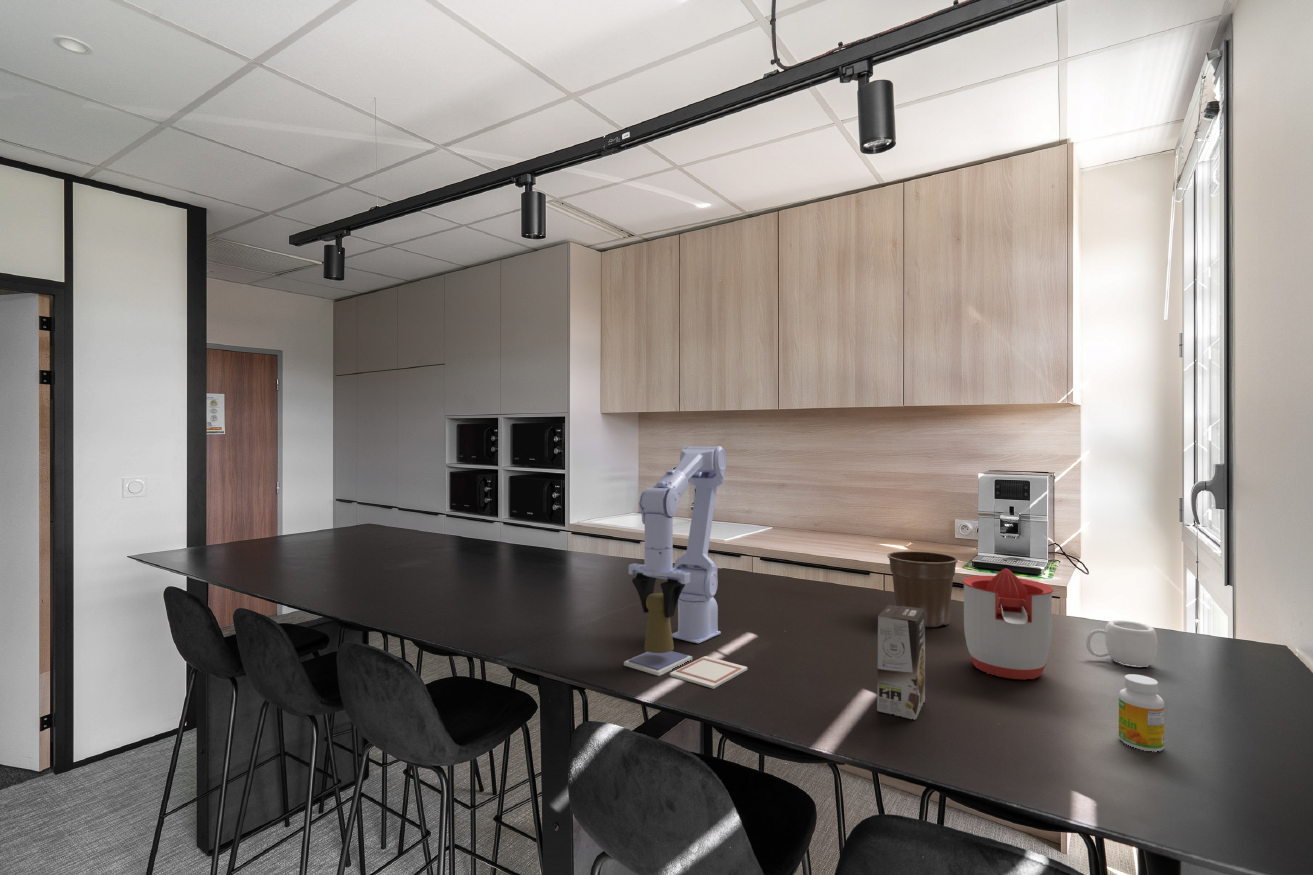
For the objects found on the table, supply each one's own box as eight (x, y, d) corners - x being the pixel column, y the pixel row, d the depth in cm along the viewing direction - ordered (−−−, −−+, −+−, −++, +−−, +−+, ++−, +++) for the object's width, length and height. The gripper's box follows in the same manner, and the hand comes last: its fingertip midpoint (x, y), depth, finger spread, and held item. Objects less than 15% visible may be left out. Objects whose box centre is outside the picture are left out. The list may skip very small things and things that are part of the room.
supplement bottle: (1109, 736, 96) (1109, 672, 96) (1142, 734, 96) (1142, 671, 96) (1139, 753, 90) (1139, 686, 90) (1173, 752, 91) (1174, 685, 91)
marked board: (705, 658, 129) (705, 655, 129) (747, 669, 123) (747, 666, 123) (669, 675, 120) (669, 672, 120) (713, 688, 114) (713, 685, 114)
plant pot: (881, 610, 165) (881, 549, 165) (945, 612, 163) (945, 551, 163) (895, 629, 149) (896, 561, 149) (967, 632, 147) (967, 563, 147)
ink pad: (658, 650, 134) (658, 645, 134) (692, 659, 128) (692, 655, 128) (623, 665, 125) (623, 660, 125) (658, 675, 120) (658, 670, 120)
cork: (671, 653, 123) (670, 597, 123) (641, 652, 124) (640, 596, 124) (676, 644, 129) (675, 591, 129) (647, 643, 130) (647, 590, 130)
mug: (1146, 659, 129) (1146, 621, 129) (1165, 673, 121) (1165, 633, 121) (1079, 652, 133) (1079, 615, 133) (1093, 666, 125) (1093, 627, 125)
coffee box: (917, 721, 101) (917, 621, 101) (875, 711, 104) (876, 615, 104) (926, 700, 108) (926, 607, 108) (887, 692, 112) (887, 602, 112)
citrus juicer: (968, 682, 117) (968, 575, 117) (958, 652, 133) (958, 558, 133) (1065, 694, 111) (1065, 582, 111) (1042, 661, 127) (1042, 563, 127)
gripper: (618, 545, 128) (618, 611, 128) (675, 554, 119) (675, 625, 119) (641, 541, 134) (640, 604, 134) (696, 548, 125) (696, 616, 125)
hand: (658, 613), depth 127 cm, fingers closed on cork, 5 cm apart
